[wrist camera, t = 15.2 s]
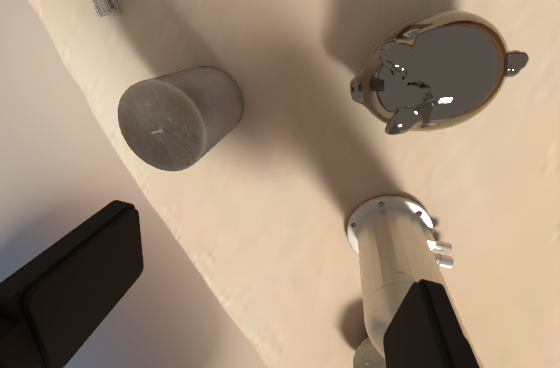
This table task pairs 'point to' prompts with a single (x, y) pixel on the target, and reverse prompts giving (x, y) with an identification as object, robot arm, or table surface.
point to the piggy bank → (435, 72)
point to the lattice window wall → (107, 7)
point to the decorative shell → (368, 356)
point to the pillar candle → (179, 116)
